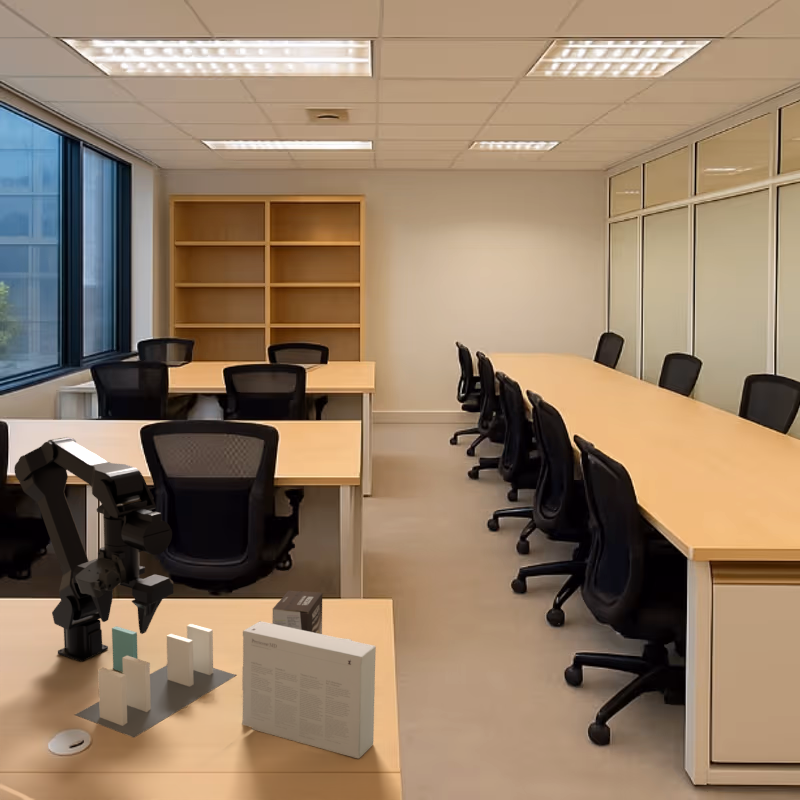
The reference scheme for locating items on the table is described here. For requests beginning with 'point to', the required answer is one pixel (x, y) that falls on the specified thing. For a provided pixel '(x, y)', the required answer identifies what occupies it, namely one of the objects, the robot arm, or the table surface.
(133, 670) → the domino
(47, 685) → the table surface
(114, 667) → the teal tile
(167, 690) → the mat
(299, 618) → the coffee box
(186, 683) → the domino
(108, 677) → the domino
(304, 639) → the skincare box
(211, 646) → the domino
